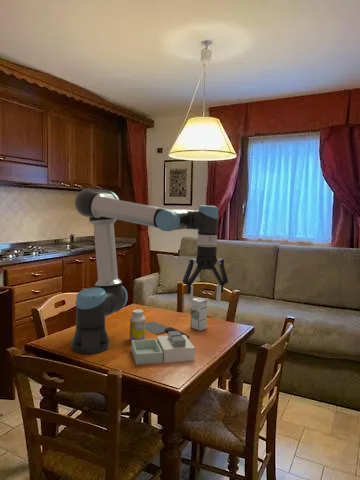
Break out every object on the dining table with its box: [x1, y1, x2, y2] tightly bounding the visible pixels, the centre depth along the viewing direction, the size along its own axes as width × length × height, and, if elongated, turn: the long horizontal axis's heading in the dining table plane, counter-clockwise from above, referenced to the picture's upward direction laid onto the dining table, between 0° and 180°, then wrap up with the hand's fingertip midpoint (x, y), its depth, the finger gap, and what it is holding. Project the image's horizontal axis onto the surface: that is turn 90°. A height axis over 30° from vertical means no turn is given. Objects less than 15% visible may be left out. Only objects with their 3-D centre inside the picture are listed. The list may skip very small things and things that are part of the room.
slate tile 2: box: [167, 330, 182, 341], centre depth 151 cm, size 4×4×2 cm
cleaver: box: [145, 321, 190, 340], centre depth 173 cm, size 29×10×2 cm, turn 43°
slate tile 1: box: [172, 336, 186, 347], centre depth 145 cm, size 4×4×2 cm
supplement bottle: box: [129, 308, 146, 342], centre depth 162 cm, size 7×7×13 cm
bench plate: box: [156, 334, 196, 363], centre depth 148 cm, size 12×14×5 cm
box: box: [130, 338, 164, 366], centre depth 145 cm, size 10×14×4 cm
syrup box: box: [190, 296, 208, 332], centre depth 179 cm, size 6×6×14 cm
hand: (204, 301), depth 146 cm, fingers open, 11 cm apart
